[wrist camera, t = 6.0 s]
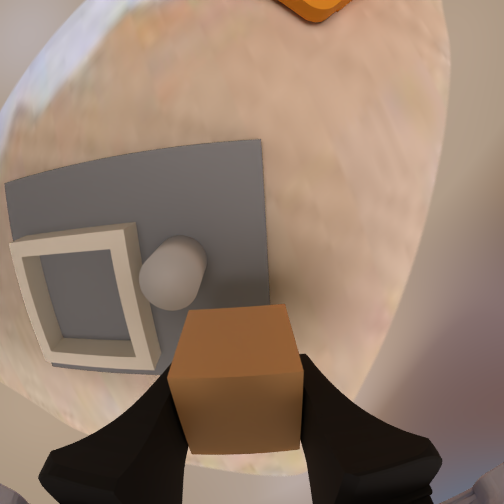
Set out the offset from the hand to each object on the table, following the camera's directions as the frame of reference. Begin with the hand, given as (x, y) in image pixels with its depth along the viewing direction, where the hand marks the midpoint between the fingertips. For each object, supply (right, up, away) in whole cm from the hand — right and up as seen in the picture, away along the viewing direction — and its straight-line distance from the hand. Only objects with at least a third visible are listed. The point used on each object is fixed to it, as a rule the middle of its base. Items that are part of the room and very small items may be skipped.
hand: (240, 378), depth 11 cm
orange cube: (0, +1, +2) cm, 2 cm away
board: (-8, +4, +7) cm, 11 cm away
